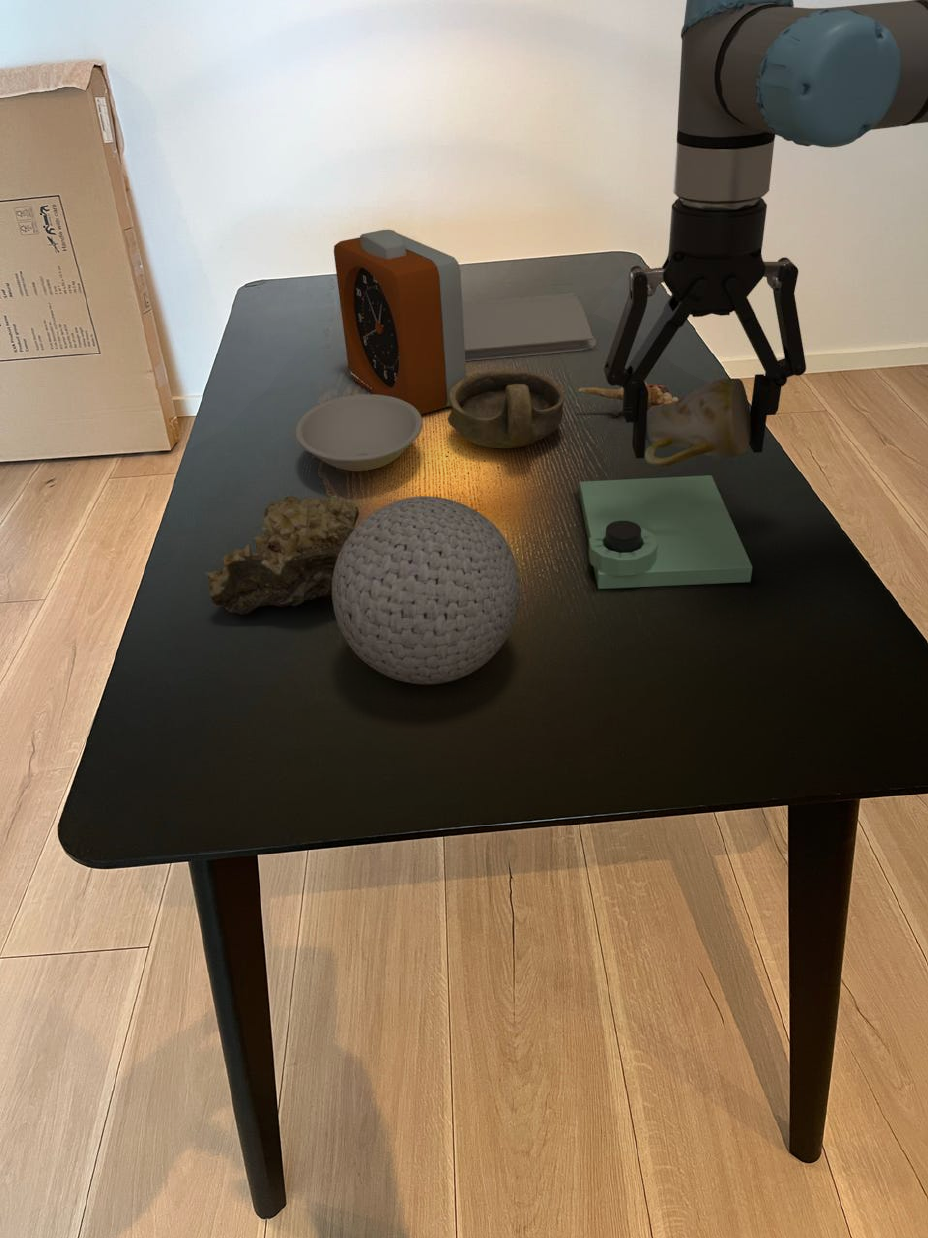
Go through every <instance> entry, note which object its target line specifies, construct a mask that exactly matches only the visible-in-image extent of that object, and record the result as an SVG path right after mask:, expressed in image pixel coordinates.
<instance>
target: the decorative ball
mask: <svg viewBox="0 0 928 1238" xmlns="http://www.w3.org/2000/svg"><path fill="white" fill-rule="evenodd" d="M353 529H354V530H353V532H352V533H351V534H350V536H349V537H348V538H347V540H346V542H345V543H344V545H343V547H342V549H341V551H340V553H339V556H338V558H337V561H336V564H335V568H334V573H333V580H332V595H331V600H332V607H333V612H334V616H335V619H336V622H337V625H338V628H339V630H340V632H341V634H342V636H343V638H344V640H345V642H346V643H347V644H348V645H349V647H350V648H351V650H352V651H353V653H355V654H356V655H357V656H358V657H359V658H360V659H361V660H362V661H363V662H364V663H365V664H367V665H368V666H369V667H371V668H372V669H373V670H375V671H376V672H378V673H380V674H381V675H384V676H386V677H388V678H391V679H393V680H395V681H400V682H403V683H408V684H412V685H413V684H414V685H438V684H444V683H449V682H453V681H456V680H459V679H461V678H464V677H466V676H469V675H470V674H472V673H474V672H476V671H477V670H478V669H480V668H481V667H483V666H484V665H485V664H487V663H488V662H489V661H490V660H491V659H492V658H493V657H494V656H495V655H496V654H497V653H498V652H499V650H500V649H501V648H502V647H503V645H504V644H505V642H506V641H507V639H508V638H509V636H510V634H511V632H512V630H513V627H514V625H515V623H516V619H517V616H518V612H519V607H520V601H521V583H520V575H519V569H518V565H517V563H516V559H515V556H514V554H513V552H512V549H511V546H509V542H508V541H507V539H506V538H505V537H504V535H503V534H502V532H501V531H500V530H499V529H498V527H497V526H496V525H495V524H494V523H493V522H492V521H491V520H490V519H488V518H487V517H486V516H484V515H483V514H482V513H480V512H479V511H477V510H476V509H474V508H472V507H470V506H468V505H467V504H464V503H462V502H459V501H456V500H453V499H449V498H446V497H439V496H412V497H406V498H402V499H398V500H395V501H393V502H391V503H387V504H385V505H383V506H381V507H380V508H378V509H376V510H375V511H373V512H372V513H370V514H368V515H367V516H366V517H364V519H363V520H362V521H361V522H360V523H359V524H358V525H357V526H356V527H354V528H353Z"/></svg>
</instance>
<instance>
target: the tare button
mask: <svg viewBox="0 0 928 1238" xmlns="http://www.w3.org/2000/svg"><path fill="white" fill-rule="evenodd" d="M640 544H641V527H640V526H639V525H638V524H636V523H634V522H631V521H615V522H612V523H610V524H609V525H608V526H607V527H606V540H605V546H606V548H607V549H608V550H610V551H615V552H619V553H629V552H634V551H636V550H639V548H640Z"/></svg>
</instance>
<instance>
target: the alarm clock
mask: <svg viewBox="0 0 928 1238" xmlns="http://www.w3.org/2000/svg"><path fill="white" fill-rule="evenodd" d="M333 257H334V266H335V272H336V273H335V274H336V280H337V289H338V297H339V304H340V313H341V320H342V327H343V329H342V330H343V335H344V343H345V352H346V358H347V366H348V371H349V370H350V371H351V372H352V373H353V374H355V375H356V376H357V377H358V378H359V379H360V380H361V381H363V382H364V383H365V384H364V383H363V382H361V381H360V380H359V379H357V378H356V377H354V376H353V375H351V374H350V376H351V378H352V379H353V380H354V381H355V382H356V383H358V384H359V385H360V386H362V387H364V388H365V389H366V390H368V391H369V392H371V394H377V395H385V396H390V397H394V398H398V399H401V400H403V401H405V402H407V403H409V404H411V405H412V406H413V407H415V408H416V409H417V410H418V412H419V413H420V415H421V416H422V415H425V414H427V413H431V412H434V411H437V410H442V409H445V408H448V407H452V405H451V403H450V400H449V392H450V390H451V388H452V387H454V386H455V385H456V384H457V383H458V382H460V381H461V380H463V379H464V378H466V377H467V367H466V361H465V345H464V327H463V309H462V303H463V295H462V294H463V291H462V275H461V267H460V263H459V261H458V260H457V259H456V258H455V257H454V256H452V255H450V254H447V253H445V252H443V251H440V250H438V249H435V248H433V247H431V246H428V245H426V244H424V243H422V242H419V241H417V240H414V239H412V238H410V237H408V236H405V235H403V234H401V233H398V232H396V231H395V230H393V229H381V230H380V229H379V230H377V231H376V230H375V231H371V232H365V233H362V234H360V236H359V237H354V238H349V239H344V240H340V241H338V242H337V243H336V244H334V246H333ZM350 371H349V372H350ZM366 384H367V385H368V386H369V387H368V386H367V385H366ZM370 387H371V388H372V389H371V388H370Z"/></svg>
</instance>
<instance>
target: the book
mask: <svg viewBox="0 0 928 1238" xmlns="http://www.w3.org/2000/svg"><path fill="white" fill-rule="evenodd" d="M462 309H463V327H464V345H465V362H471V361H483V360H494V359H505V358H514V357H515V358H516V357H525V356H526V357H527V356H538V355H550V354H559V353H560V354H561V353H570V352H581V351H587V350H590V349H593V348H594V347H596V345H597V340H596V339H595V337H594V335H593V334H592V331H591V327H590V324H589V321H588V318H587V316H586V313H585V311H584V308H583V306H582V304H581V302H580V300H579V297H578V296H577V294H576V293H575V292H568V293H557V294H547V295H546V294H544V295H535V296H523V297H522V296H521V297H511V298H499V299H488V300H477V301H465V302H464V301H463V302H462Z"/></svg>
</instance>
